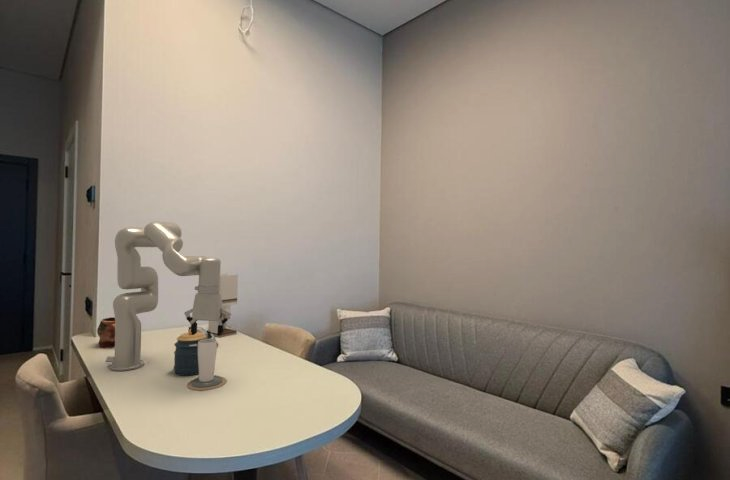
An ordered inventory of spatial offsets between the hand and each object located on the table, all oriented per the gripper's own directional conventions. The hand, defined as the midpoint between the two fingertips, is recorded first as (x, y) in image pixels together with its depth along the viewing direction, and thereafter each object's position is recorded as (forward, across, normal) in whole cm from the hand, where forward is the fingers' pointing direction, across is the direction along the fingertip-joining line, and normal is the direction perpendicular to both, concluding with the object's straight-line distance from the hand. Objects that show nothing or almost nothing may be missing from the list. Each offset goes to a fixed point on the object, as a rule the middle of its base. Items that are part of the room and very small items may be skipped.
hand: (206, 334), depth 145 cm
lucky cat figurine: (+20, -20, +48) cm, 56 cm away
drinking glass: (+18, +1, 0) cm, 18 cm away
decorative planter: (+21, -67, +51) cm, 86 cm away
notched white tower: (+20, -20, +78) cm, 83 cm away
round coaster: (+18, +1, 0) cm, 19 cm away
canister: (+19, -11, +14) cm, 26 cm away
